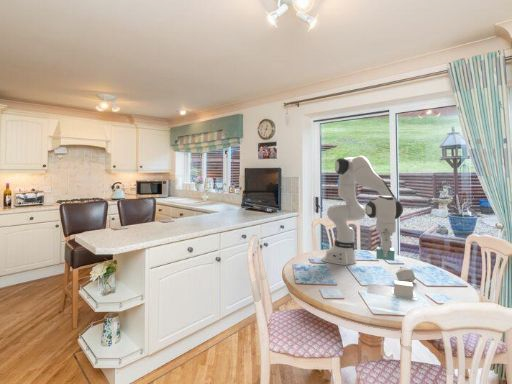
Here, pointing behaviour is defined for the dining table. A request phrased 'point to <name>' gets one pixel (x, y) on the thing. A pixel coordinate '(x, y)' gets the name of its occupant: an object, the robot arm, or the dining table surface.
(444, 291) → the dining table surface
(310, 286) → the dining table surface
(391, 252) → the teal brick
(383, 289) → the white flat slab
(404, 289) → the cream brick
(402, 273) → the grey brown rock
